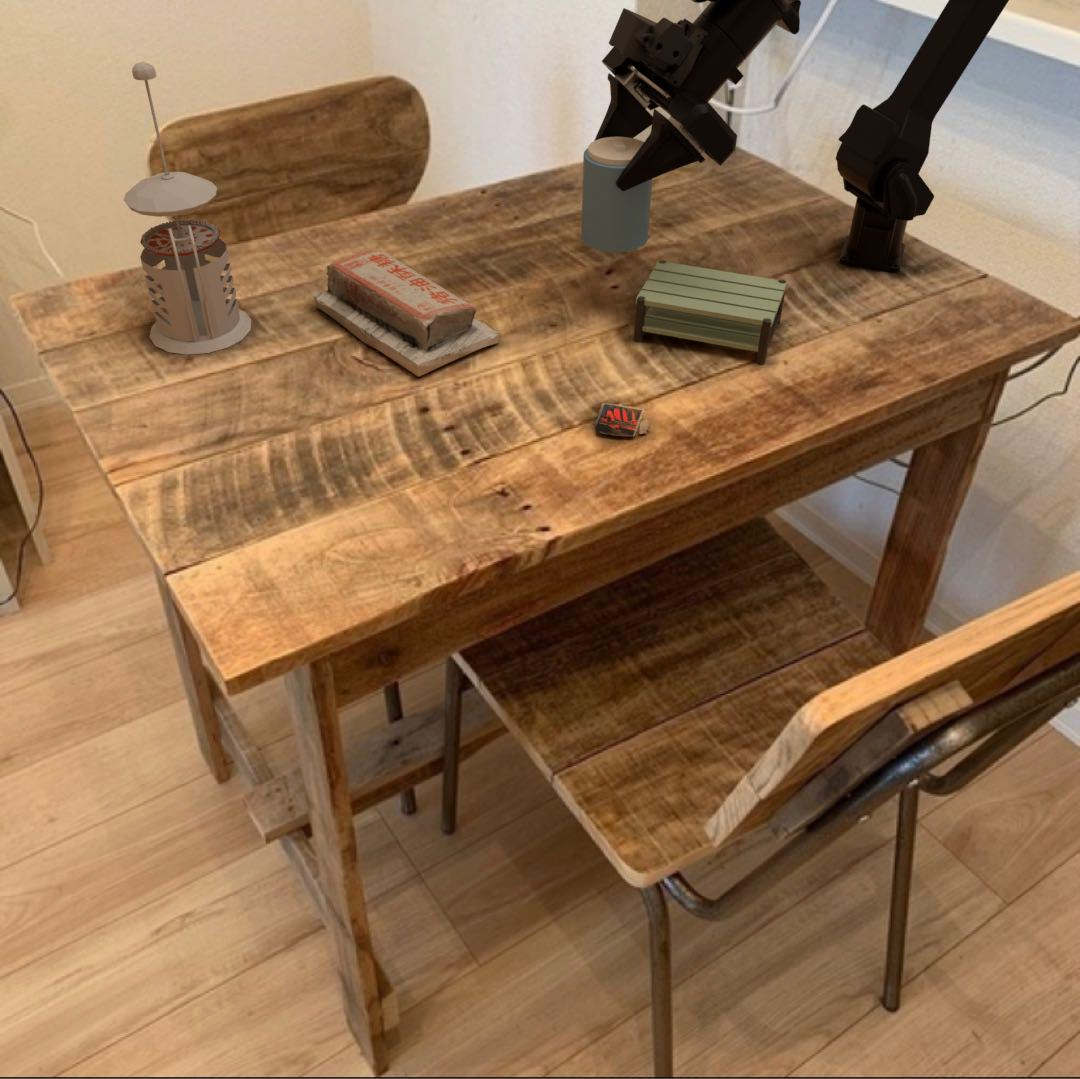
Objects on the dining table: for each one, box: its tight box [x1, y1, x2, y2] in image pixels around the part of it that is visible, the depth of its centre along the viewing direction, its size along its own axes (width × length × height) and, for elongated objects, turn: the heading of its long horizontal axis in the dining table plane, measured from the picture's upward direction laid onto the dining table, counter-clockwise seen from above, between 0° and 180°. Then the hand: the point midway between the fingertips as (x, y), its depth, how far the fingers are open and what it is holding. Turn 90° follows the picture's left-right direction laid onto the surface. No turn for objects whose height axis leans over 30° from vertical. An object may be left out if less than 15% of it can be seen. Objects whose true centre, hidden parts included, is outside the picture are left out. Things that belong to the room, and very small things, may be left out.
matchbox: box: [594, 402, 651, 438], centre depth 93 cm, size 5×5×1 cm
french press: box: [123, 61, 252, 356], centre depth 97 cm, size 10×12×25 cm
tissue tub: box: [580, 137, 653, 253], centre depth 103 cm, size 7×7×9 cm
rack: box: [633, 259, 788, 365], centre depth 104 cm, size 9×13×4 cm
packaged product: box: [314, 249, 500, 378], centre depth 104 cm, size 18×5×10 cm
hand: (604, 173), depth 101 cm, fingers closed on tissue tub, 6 cm apart
